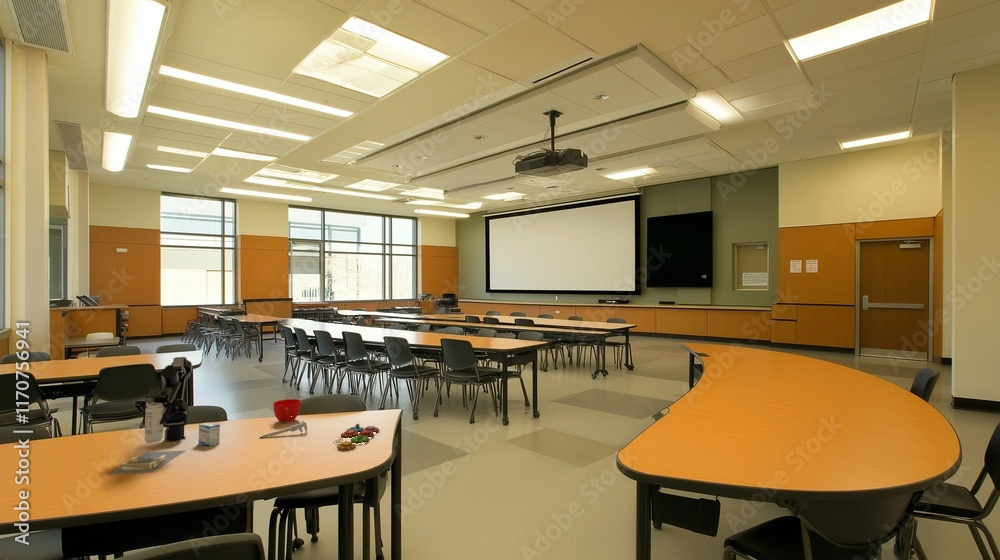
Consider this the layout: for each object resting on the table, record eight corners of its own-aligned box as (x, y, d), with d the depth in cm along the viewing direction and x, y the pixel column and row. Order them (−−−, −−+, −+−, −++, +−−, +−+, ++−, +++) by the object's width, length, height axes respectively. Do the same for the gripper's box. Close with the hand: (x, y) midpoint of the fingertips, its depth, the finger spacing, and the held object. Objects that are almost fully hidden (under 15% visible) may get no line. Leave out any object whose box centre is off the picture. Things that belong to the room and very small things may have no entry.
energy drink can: (164, 441, 188) (165, 404, 189) (145, 444, 184) (147, 406, 184) (161, 437, 192) (162, 401, 193) (143, 440, 188) (144, 403, 189)
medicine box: (198, 444, 203) (198, 424, 204) (207, 441, 208) (208, 422, 208) (210, 446, 201) (210, 426, 201) (219, 443, 205) (220, 423, 205)
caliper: (306, 432, 221) (307, 419, 221) (306, 433, 220) (307, 420, 220) (258, 438, 213) (259, 424, 213) (258, 439, 212) (259, 425, 212)
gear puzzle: (359, 452, 195) (359, 443, 195) (321, 452, 195) (321, 442, 195) (380, 430, 226) (380, 422, 226) (348, 430, 226) (348, 422, 226)
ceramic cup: (272, 427, 228) (272, 407, 229) (273, 419, 244) (274, 400, 244) (300, 425, 234) (300, 405, 234) (300, 416, 249) (300, 398, 249)
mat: (147, 452, 192) (147, 452, 192) (186, 451, 195) (186, 450, 195) (107, 475, 169) (107, 474, 169) (152, 473, 171) (152, 472, 171)
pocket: (134, 461, 181) (135, 456, 181) (165, 460, 183) (165, 455, 183) (119, 470, 172) (119, 465, 172) (152, 469, 174) (152, 463, 174)
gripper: (136, 380, 192) (117, 414, 180) (185, 380, 194) (168, 413, 183) (148, 395, 199) (130, 428, 188) (194, 394, 201) (179, 427, 190)
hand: (152, 424), depth 187 cm, fingers closed on energy drink can, 6 cm apart
